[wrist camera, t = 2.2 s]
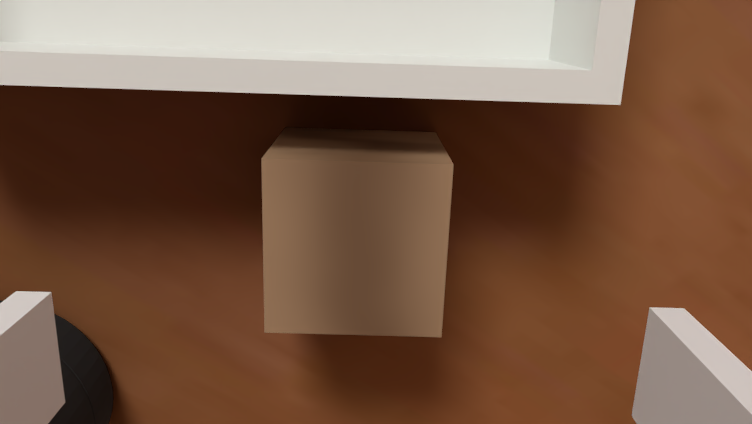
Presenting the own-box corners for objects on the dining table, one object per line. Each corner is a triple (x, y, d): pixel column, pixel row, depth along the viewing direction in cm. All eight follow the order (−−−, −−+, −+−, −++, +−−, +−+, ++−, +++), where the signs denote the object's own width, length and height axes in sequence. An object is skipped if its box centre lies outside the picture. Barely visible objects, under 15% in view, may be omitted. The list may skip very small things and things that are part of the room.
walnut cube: (286, 266, 28) (264, 332, 22) (285, 126, 26) (261, 158, 20) (426, 270, 28) (441, 337, 22) (435, 131, 26) (453, 164, 20)
